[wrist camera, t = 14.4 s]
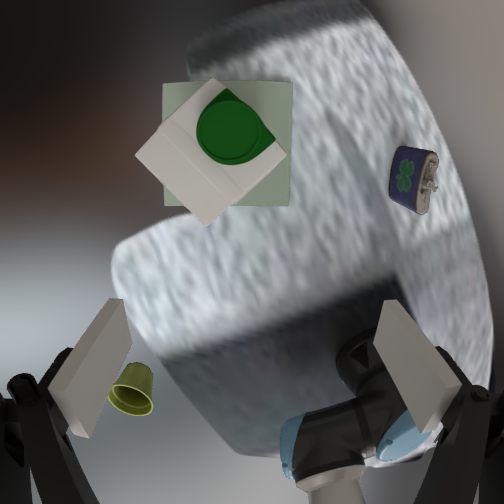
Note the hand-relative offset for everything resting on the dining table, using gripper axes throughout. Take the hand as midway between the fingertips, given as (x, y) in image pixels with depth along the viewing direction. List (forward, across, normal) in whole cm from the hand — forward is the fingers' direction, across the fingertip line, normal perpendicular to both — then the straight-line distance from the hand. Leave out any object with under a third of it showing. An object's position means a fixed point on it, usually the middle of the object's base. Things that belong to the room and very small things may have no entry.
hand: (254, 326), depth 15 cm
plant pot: (+33, +22, +36) cm, 54 cm away
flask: (+33, -24, -5) cm, 41 cm away
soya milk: (+27, +3, -8) cm, 28 cm away
